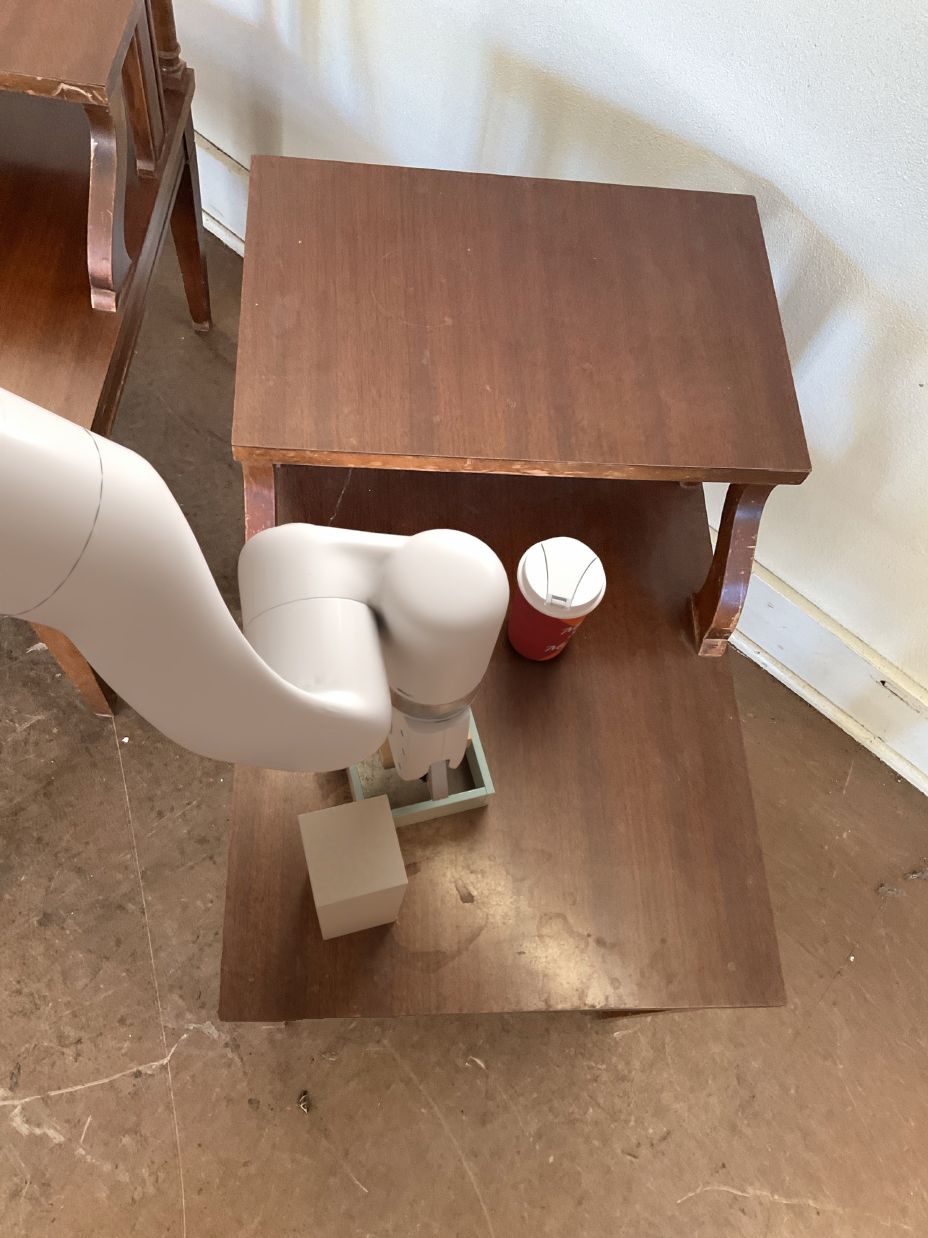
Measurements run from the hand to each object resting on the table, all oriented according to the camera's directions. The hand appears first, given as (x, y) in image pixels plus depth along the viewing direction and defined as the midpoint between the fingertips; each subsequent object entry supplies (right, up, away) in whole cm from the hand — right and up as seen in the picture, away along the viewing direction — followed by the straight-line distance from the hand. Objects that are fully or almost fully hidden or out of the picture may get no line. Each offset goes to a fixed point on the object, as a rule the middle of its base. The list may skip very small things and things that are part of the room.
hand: (413, 744), depth 77 cm
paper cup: (+11, +9, +12) cm, 19 cm away
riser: (-5, -13, -1) cm, 14 cm away
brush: (+1, 0, +1) cm, 1 cm away
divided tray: (-2, +2, +7) cm, 8 cm away
